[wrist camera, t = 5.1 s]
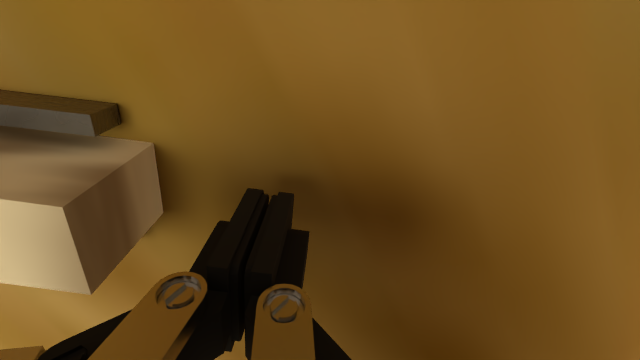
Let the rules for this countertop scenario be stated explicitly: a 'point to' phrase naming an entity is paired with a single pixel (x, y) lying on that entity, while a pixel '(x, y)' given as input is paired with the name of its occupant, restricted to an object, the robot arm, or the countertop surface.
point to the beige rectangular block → (72, 206)
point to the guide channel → (57, 113)
